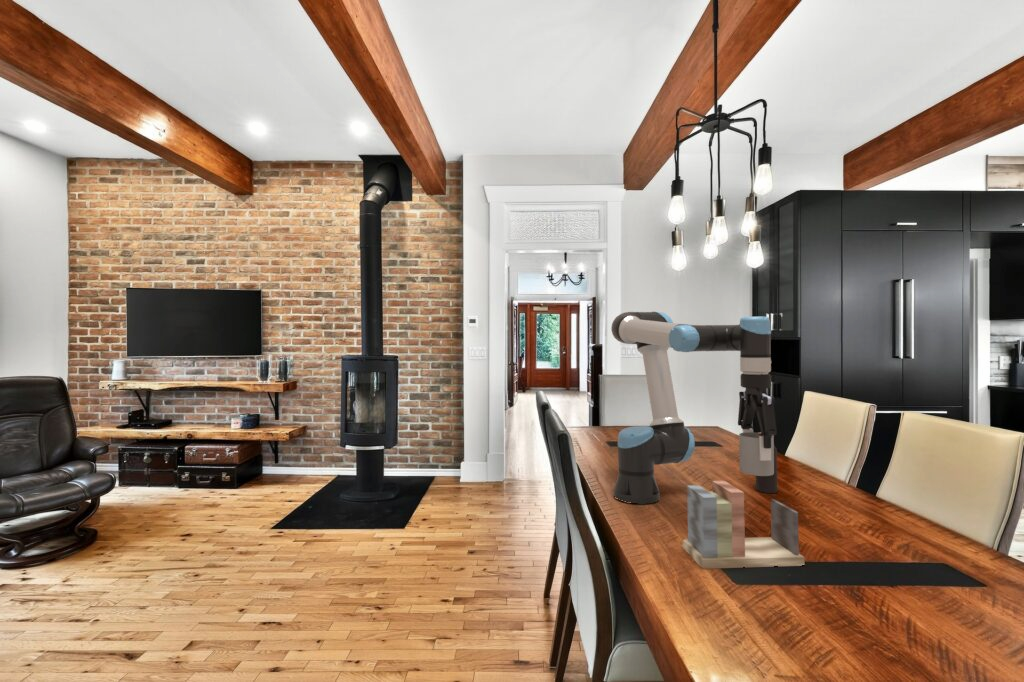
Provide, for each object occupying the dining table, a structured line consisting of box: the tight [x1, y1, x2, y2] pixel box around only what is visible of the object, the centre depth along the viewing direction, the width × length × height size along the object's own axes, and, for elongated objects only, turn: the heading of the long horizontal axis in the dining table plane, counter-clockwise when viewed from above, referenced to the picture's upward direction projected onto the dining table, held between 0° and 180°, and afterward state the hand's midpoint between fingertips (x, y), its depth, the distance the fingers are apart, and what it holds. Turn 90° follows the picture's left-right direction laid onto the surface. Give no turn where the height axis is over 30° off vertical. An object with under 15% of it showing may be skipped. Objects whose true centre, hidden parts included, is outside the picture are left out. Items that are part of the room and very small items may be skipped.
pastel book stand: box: [682, 480, 805, 570], centre depth 120 cm, size 12×24×17 cm, turn 92°
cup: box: [738, 431, 775, 477], centre depth 135 cm, size 8×8×10 cm
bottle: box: [755, 431, 778, 494], centre depth 172 cm, size 7×7×20 cm
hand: (756, 456), depth 135 cm, fingers closed on cup, 8 cm apart
